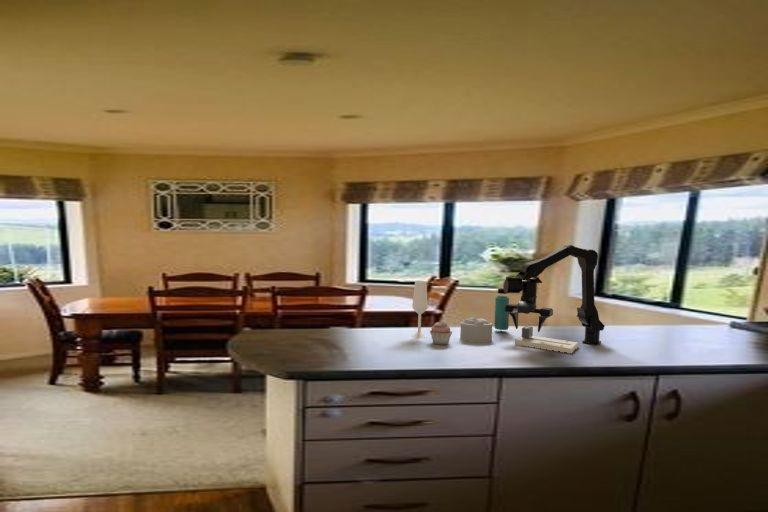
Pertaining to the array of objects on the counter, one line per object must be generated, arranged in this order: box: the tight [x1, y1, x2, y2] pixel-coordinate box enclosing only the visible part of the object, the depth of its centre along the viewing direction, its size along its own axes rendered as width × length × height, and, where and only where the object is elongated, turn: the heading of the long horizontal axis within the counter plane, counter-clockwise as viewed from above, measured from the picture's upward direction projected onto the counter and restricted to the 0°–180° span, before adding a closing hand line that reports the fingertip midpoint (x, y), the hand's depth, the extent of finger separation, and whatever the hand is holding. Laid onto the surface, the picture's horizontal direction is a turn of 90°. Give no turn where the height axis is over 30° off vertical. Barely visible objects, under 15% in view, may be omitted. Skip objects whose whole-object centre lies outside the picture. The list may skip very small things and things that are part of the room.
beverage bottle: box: [493, 287, 510, 331], centre depth 216 cm, size 6×7×20 cm
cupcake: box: [429, 319, 453, 346], centre depth 193 cm, size 9×9×10 cm
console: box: [514, 335, 579, 354], centre depth 193 cm, size 12×22×2 cm, turn 56°
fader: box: [521, 325, 534, 338], centre depth 197 cm, size 5×3×4 cm, turn 146°
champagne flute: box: [411, 280, 429, 339], centre depth 204 cm, size 7×7×24 cm
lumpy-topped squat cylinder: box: [459, 317, 493, 343], centre depth 202 cm, size 10×13×9 cm
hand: (527, 330), depth 197 cm, fingers open, 9 cm apart
